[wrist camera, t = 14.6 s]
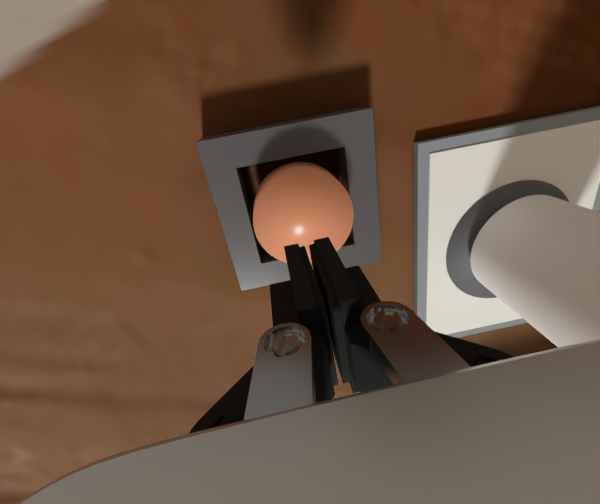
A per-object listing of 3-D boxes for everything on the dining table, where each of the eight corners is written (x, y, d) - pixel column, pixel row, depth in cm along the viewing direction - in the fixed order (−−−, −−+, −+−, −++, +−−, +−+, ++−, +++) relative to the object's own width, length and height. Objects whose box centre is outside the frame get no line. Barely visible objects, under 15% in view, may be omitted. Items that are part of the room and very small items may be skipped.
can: (482, 189, 20) (748, 298, 9) (579, 193, 21) (922, 294, 10) (452, 285, 23) (623, 450, 12) (538, 284, 24) (767, 436, 13)
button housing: (202, 137, 17) (195, 142, 16) (361, 106, 18) (372, 107, 16) (243, 274, 21) (241, 290, 20) (371, 248, 22) (381, 261, 20)
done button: (243, 171, 17) (241, 181, 15) (339, 152, 17) (348, 159, 15) (264, 256, 19) (265, 273, 17) (348, 239, 19) (357, 254, 17)
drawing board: (413, 142, 19) (419, 144, 18) (620, 101, 19) (634, 101, 18) (413, 341, 26) (418, 348, 25) (563, 309, 26) (571, 314, 26)
